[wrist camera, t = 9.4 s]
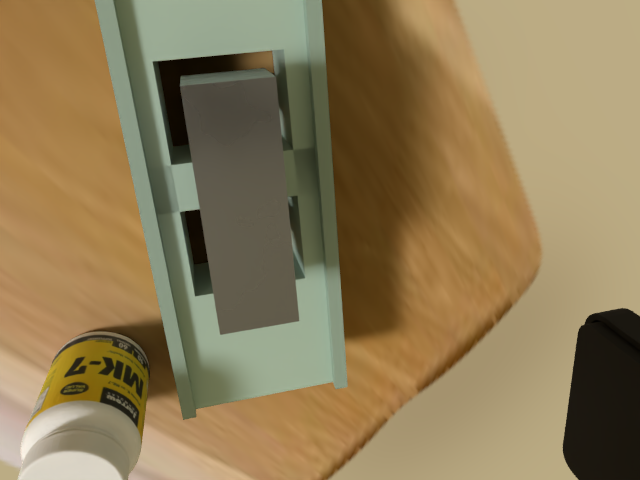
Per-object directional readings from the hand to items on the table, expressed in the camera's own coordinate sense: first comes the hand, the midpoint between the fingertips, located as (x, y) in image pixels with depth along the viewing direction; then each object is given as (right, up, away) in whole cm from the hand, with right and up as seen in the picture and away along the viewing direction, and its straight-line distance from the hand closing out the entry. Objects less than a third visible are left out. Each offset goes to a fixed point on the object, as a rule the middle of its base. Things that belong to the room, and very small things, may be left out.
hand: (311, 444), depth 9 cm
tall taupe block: (-4, +7, +18) cm, 20 cm away
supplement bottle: (-11, -3, +21) cm, 24 cm away
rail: (-4, +7, +18) cm, 20 cm away
